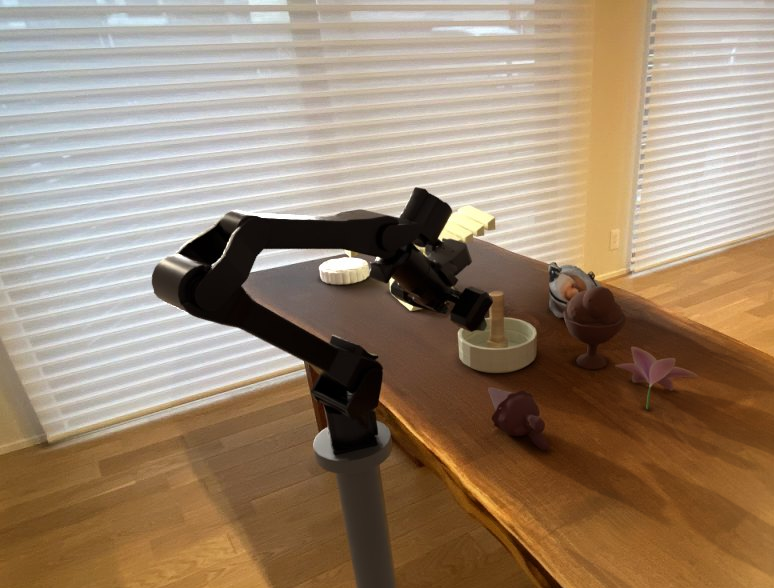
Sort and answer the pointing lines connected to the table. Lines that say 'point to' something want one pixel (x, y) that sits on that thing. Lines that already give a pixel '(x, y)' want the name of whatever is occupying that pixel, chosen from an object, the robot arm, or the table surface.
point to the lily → (654, 370)
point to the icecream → (518, 415)
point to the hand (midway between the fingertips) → (465, 319)
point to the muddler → (497, 322)
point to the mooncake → (344, 270)
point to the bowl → (499, 359)
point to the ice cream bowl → (593, 322)
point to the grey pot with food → (567, 285)
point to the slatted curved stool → (457, 232)
